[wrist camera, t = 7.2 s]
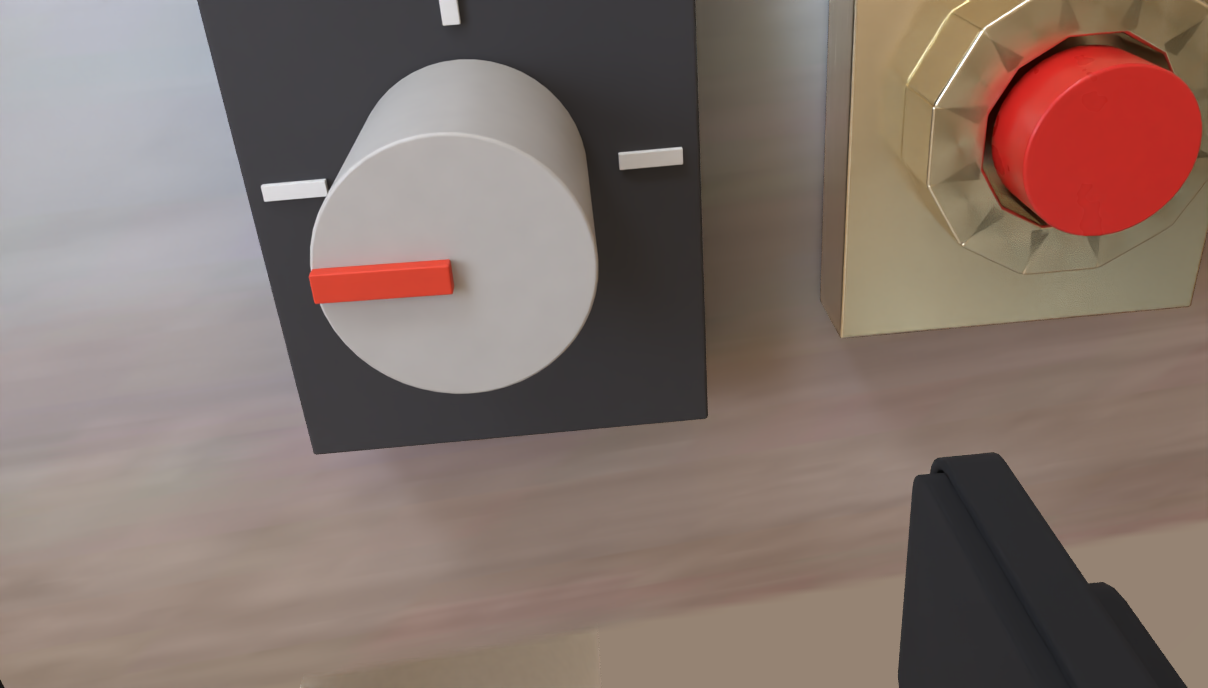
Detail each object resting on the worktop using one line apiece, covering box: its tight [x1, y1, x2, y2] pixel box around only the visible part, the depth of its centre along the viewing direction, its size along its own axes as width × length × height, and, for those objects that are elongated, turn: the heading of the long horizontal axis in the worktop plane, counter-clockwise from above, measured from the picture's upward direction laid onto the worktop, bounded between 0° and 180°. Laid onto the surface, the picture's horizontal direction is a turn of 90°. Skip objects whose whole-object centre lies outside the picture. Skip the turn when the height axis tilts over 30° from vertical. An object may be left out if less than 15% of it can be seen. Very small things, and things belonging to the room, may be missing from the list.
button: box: [991, 44, 1202, 236], centre depth 21 cm, size 4×4×2 cm
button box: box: [820, 0, 1208, 338], centre depth 23 cm, size 11×9×4 cm
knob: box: [309, 59, 598, 394], centre depth 20 cm, size 5×5×6 cm
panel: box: [197, 0, 708, 454], centre depth 24 cm, size 14×10×3 cm
